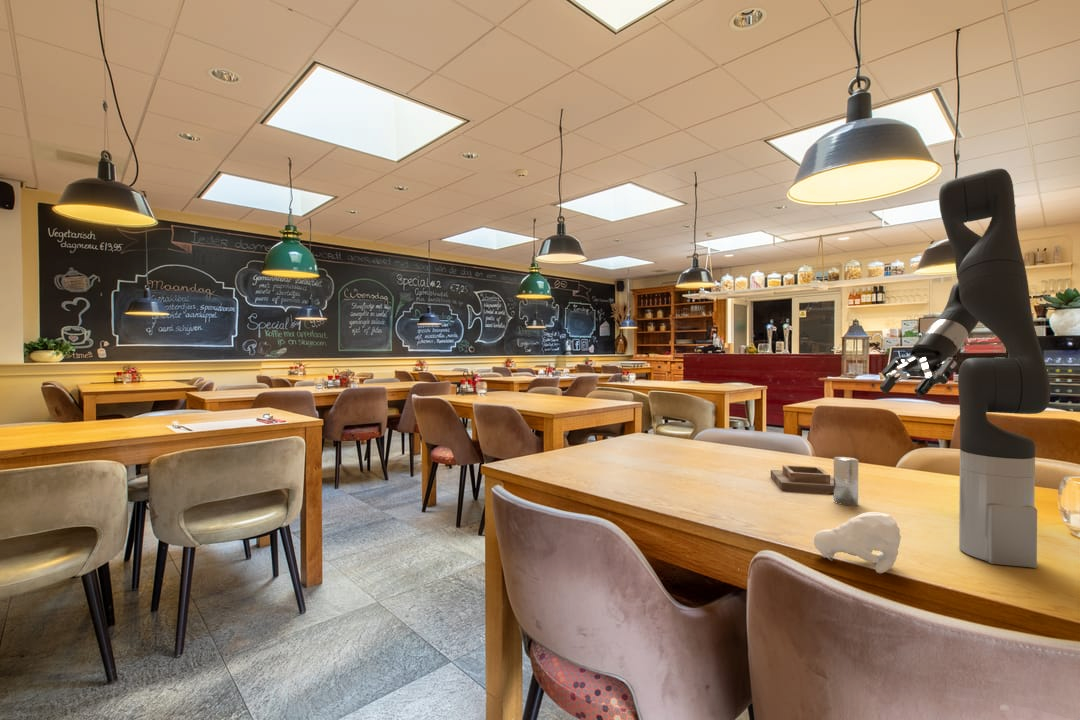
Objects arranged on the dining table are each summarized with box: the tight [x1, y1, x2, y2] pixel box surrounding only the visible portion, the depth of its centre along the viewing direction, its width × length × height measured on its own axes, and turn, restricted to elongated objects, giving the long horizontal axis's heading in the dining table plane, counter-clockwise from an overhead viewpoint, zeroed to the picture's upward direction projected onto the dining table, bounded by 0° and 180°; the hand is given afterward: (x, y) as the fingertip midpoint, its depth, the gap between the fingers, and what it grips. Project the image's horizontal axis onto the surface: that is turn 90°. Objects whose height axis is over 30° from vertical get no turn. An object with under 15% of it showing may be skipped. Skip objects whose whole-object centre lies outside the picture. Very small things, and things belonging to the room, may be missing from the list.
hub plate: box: [770, 464, 834, 494], centre depth 126 cm, size 14×14×4 cm
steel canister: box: [833, 456, 859, 506], centre depth 112 cm, size 5×5×10 cm
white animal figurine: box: [813, 511, 902, 574], centre depth 79 cm, size 6×8×12 cm
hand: (900, 392), depth 113 cm, fingers open, 8 cm apart
